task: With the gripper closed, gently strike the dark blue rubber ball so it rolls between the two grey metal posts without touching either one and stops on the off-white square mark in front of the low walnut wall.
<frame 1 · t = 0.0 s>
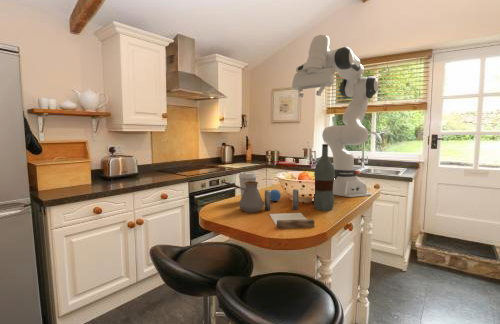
hand: (309, 96, 130), 52 cm above the table, tool tilted 20°, fingers open, 8 cm apart
right post: (295, 209, 131), on the table
coffee pot: (243, 212, 127), on the table
coffee cup: (247, 202, 145), on the table
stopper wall: (295, 226, 107), on the table
left post: (267, 209, 130), on the table
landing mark: (289, 218, 117), on the table
bottle: (323, 208, 132), on the table
ball: (274, 195, 146), on the table
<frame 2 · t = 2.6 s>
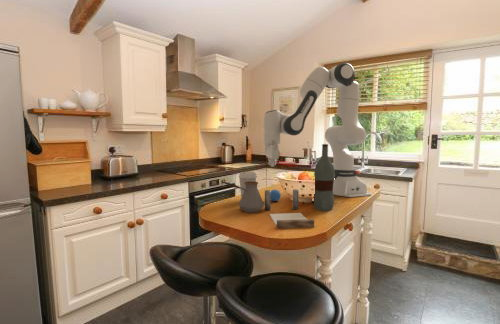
hand: (271, 166, 154), 17 cm above the table, tool pointing down, fingers open, 3 cm apart
nothing on the table moved.
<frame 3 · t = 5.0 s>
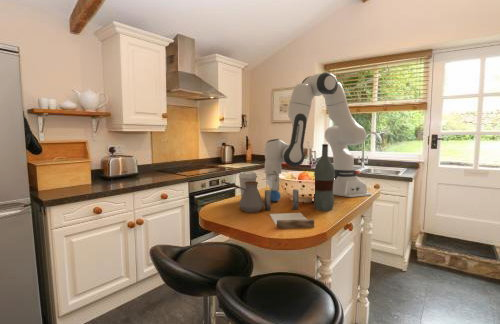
hand: (272, 195, 150), 2 cm above the table, tool pointing down, fingers closed, pressing on ball
ball: (274, 195, 146), on the table, touching gripper
everything else where it was.
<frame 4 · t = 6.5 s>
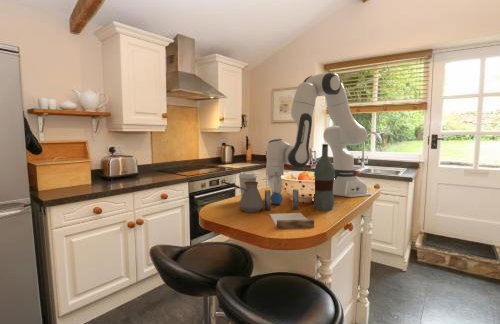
hand: (274, 198, 144), 2 cm above the table, tool pointing down, fingers closed
ball: (276, 198, 140), on the table, touching gripper
everything else where it was.
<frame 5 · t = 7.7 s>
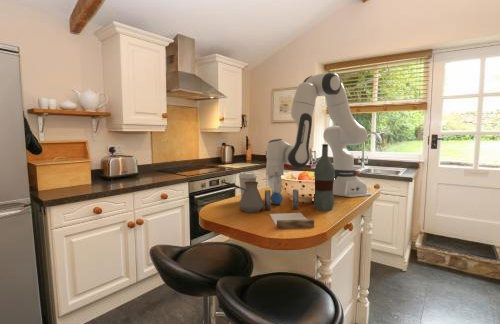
hand: (274, 198, 144), 2 cm above the table, tool pointing down, fingers closed
nothing on the table moved.
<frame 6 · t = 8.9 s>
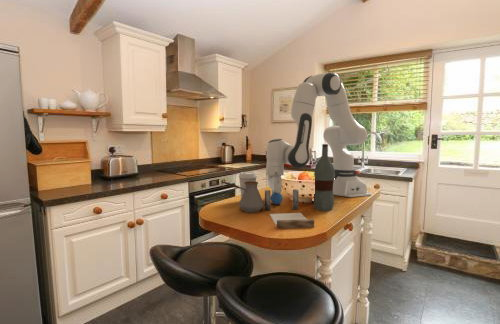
hand: (274, 198, 144), 2 cm above the table, tool pointing down, fingers closed
nothing on the table moved.
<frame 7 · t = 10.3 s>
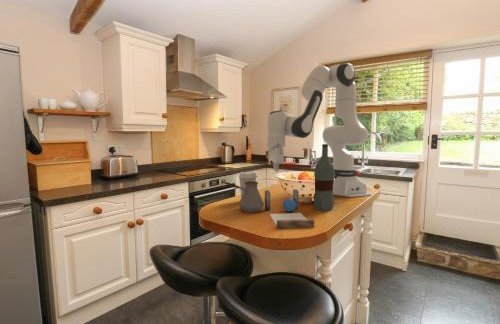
hand: (276, 171, 142), 16 cm above the table, tool pointing down, fingers closed
ball: (289, 205, 127), on the table
everything else where it was.
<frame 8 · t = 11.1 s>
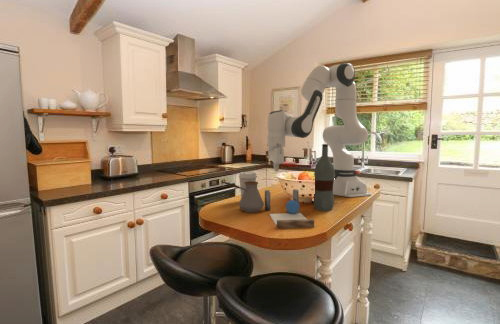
hand: (276, 171, 142), 16 cm above the table, tool pointing down, fingers closed
ball: (292, 206, 124), on the table
everything else where it was.
at the end: ball 7.7 cm from the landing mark (horizontally); ball never touched left post; ball never touched right post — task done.
